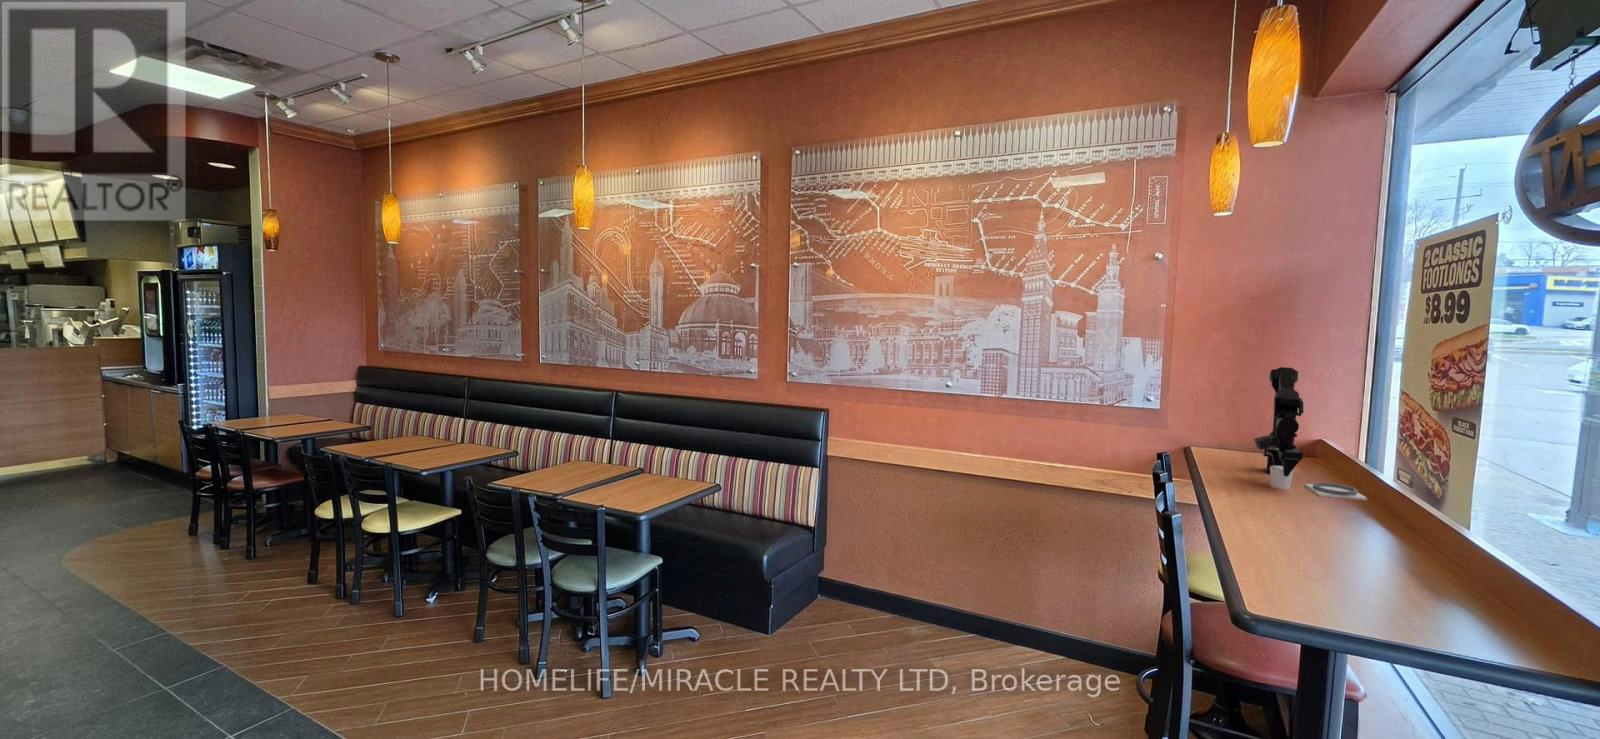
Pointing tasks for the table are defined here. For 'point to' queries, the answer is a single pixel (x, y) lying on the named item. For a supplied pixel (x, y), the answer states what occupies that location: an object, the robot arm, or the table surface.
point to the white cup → (1279, 478)
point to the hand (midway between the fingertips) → (1281, 472)
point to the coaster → (1335, 490)
